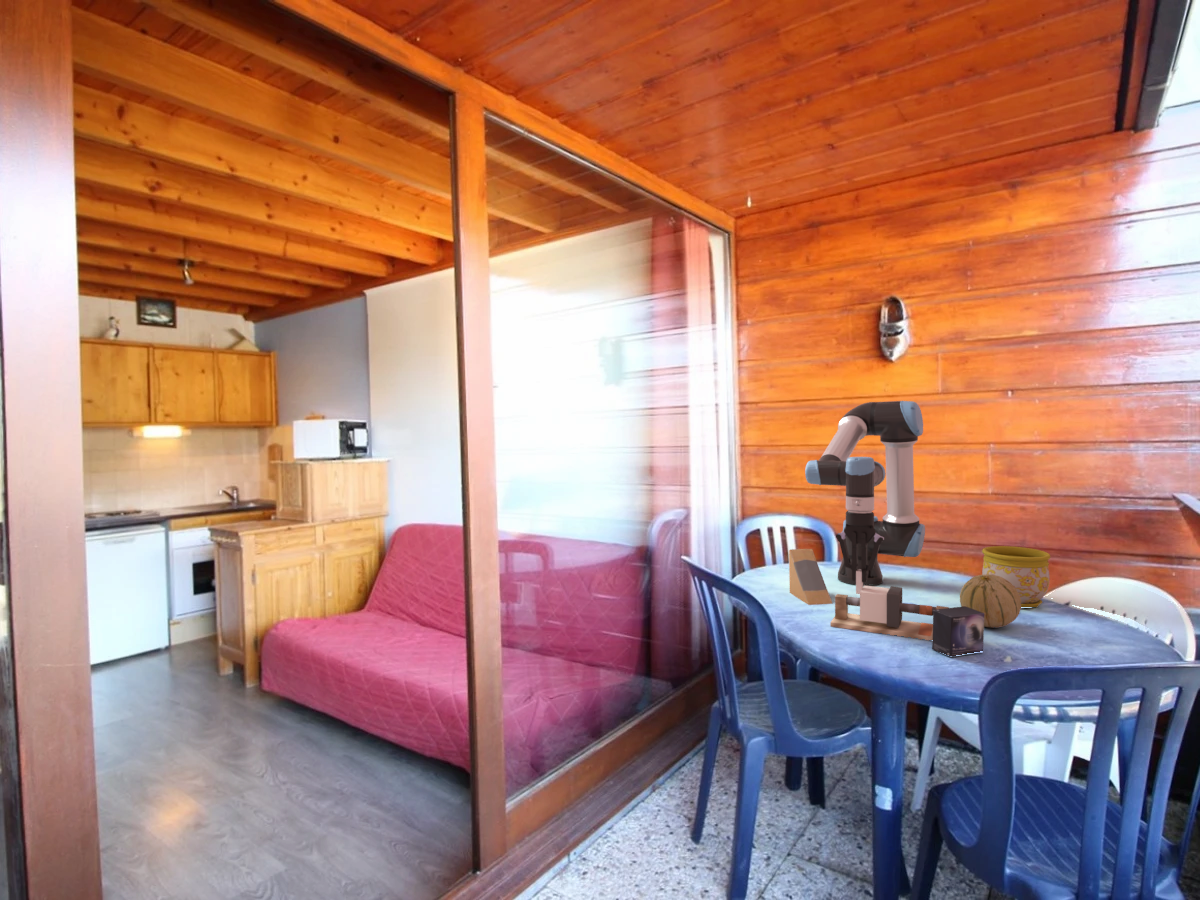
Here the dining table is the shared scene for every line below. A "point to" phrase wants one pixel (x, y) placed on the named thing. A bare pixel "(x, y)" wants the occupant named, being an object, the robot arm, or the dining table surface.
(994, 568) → the flowerpot
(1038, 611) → the dining table surface
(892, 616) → the ring
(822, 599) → the sandwich container
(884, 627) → the rail
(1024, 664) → the dining table surface
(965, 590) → the cantaloupe
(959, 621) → the small box
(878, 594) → the sleeve
